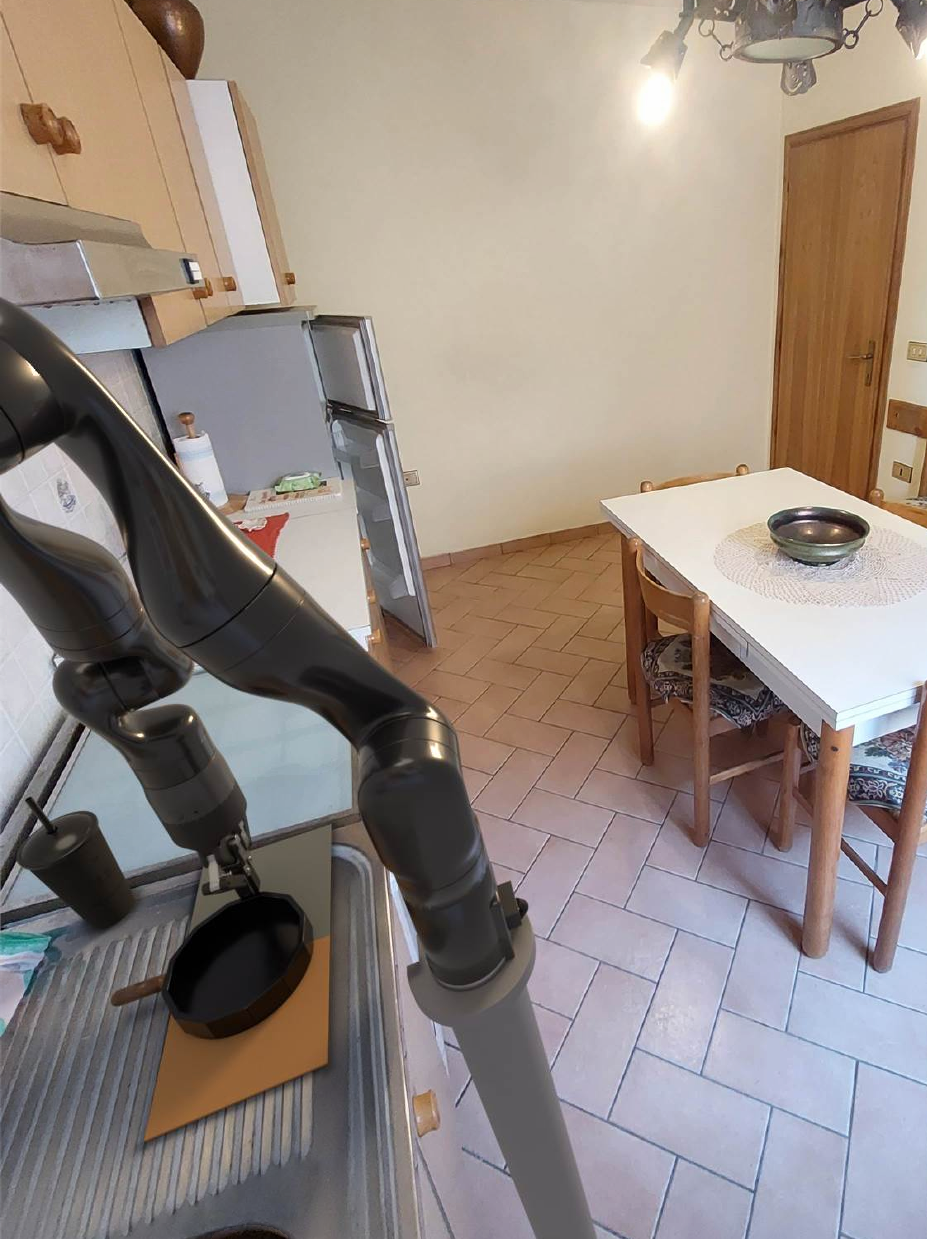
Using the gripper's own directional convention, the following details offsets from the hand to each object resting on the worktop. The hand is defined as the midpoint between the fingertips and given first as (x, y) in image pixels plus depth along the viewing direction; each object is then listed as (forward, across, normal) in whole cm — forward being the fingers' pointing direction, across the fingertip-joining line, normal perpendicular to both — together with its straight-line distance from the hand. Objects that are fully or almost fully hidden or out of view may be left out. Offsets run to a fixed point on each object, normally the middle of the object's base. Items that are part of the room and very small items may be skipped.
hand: (251, 890), depth 79 cm
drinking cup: (+4, +7, +18) cm, 19 cm away
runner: (+3, -6, 0) cm, 7 cm away
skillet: (+2, -8, +3) cm, 9 cm away
